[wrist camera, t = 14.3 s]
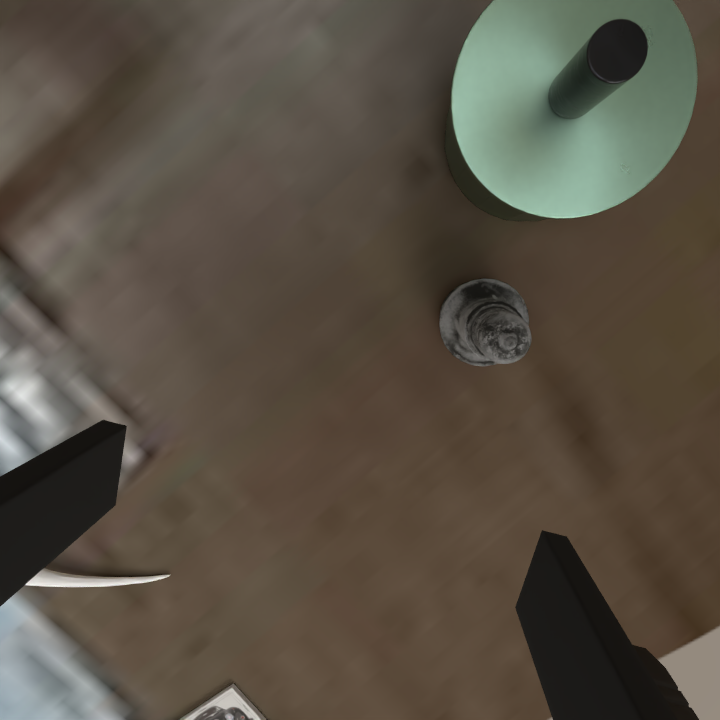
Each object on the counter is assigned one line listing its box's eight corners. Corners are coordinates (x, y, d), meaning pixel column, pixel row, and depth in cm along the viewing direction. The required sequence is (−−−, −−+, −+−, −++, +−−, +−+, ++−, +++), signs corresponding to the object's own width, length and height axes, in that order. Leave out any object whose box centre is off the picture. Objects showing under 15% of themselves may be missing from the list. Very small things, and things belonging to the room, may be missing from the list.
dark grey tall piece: (475, 372, 38) (510, 423, 26) (418, 318, 38) (428, 345, 26) (533, 315, 37) (597, 341, 25) (476, 259, 36) (513, 259, 25)
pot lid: (418, 29, 27) (424, -44, 20) (653, -72, 25) (741, -187, 19) (488, 251, 29) (514, 249, 22) (709, 171, 27) (808, 144, 21)
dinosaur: (111, 605, 54) (190, 519, 49) (74, 690, 47) (161, 600, 41) (-143, 497, 46) (-85, 379, 40) (-239, 579, 39) (-184, 448, 33)
